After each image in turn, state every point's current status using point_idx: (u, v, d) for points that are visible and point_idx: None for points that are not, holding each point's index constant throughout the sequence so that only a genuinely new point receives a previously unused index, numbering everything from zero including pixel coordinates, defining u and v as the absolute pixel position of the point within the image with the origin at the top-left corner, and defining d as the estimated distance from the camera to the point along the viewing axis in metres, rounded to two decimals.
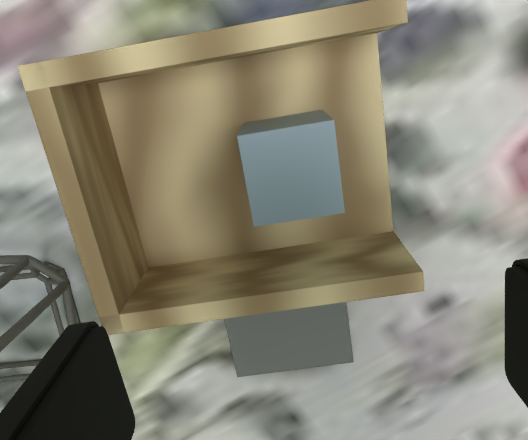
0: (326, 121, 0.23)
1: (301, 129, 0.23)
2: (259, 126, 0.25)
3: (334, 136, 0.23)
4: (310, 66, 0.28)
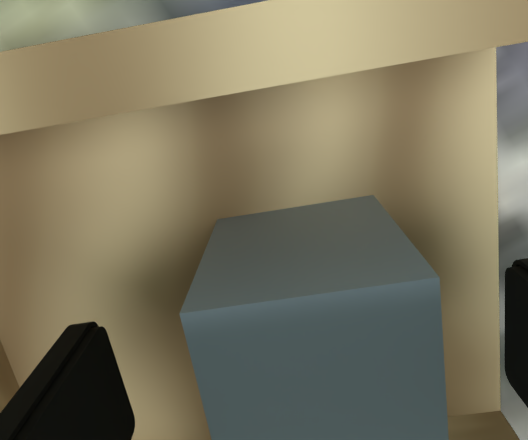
0: (417, 279, 0.09)
1: (351, 298, 0.09)
2: (243, 255, 0.11)
3: (437, 316, 0.09)
4: (353, 110, 0.13)
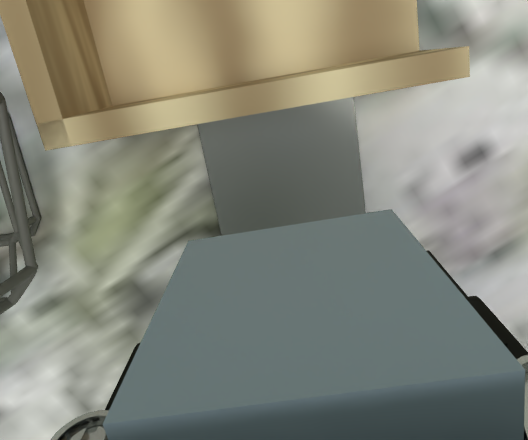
0: (486, 370, 0.05)
1: (378, 401, 0.05)
2: (215, 305, 0.08)
3: (516, 427, 0.05)
4: None
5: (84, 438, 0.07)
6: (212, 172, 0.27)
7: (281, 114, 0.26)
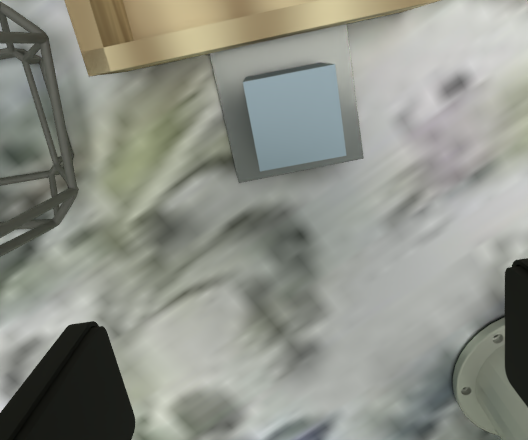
0: (327, 66, 0.24)
1: (304, 73, 0.24)
2: (262, 76, 0.26)
3: (335, 80, 0.24)
4: None
5: None
6: (225, 107, 0.30)
7: (285, 51, 0.29)
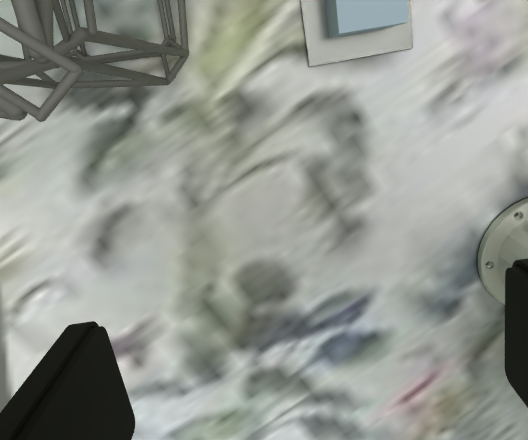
0: None
1: None
2: None
3: None
4: None
5: None
6: None
7: None
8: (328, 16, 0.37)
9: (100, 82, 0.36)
